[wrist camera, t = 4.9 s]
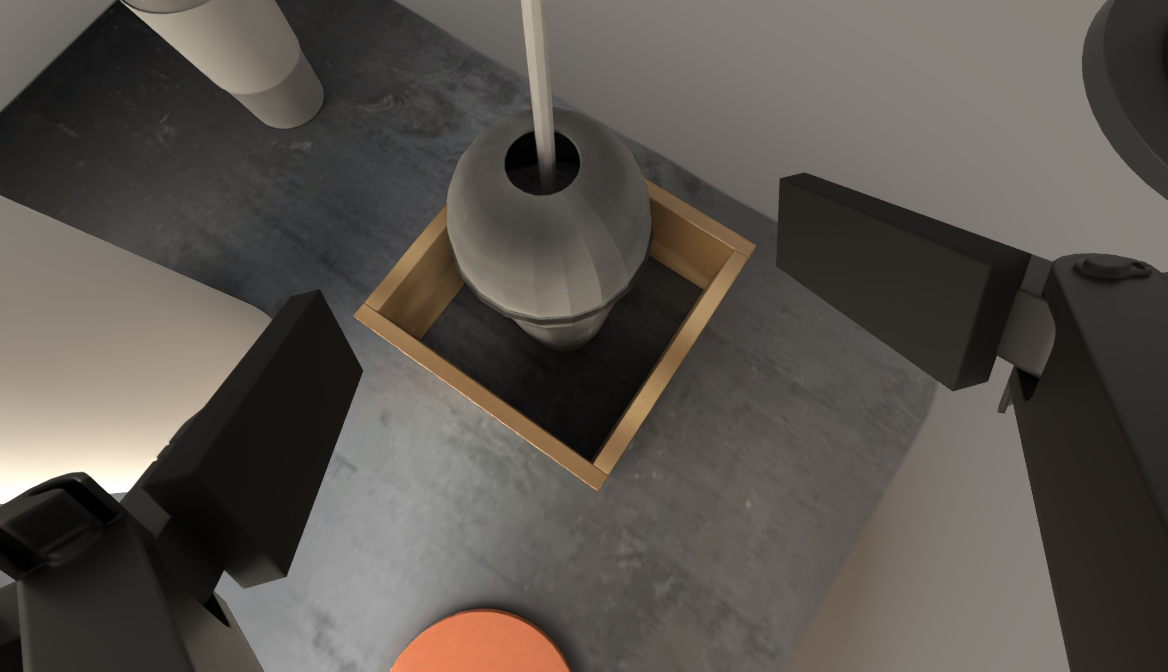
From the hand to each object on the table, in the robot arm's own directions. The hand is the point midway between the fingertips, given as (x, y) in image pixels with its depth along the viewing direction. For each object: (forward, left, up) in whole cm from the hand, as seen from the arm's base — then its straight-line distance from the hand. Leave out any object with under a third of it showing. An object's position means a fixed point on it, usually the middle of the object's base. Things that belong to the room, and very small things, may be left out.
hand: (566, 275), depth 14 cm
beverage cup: (0, -3, -14) cm, 15 cm away
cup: (+14, -22, -14) cm, 30 cm away
